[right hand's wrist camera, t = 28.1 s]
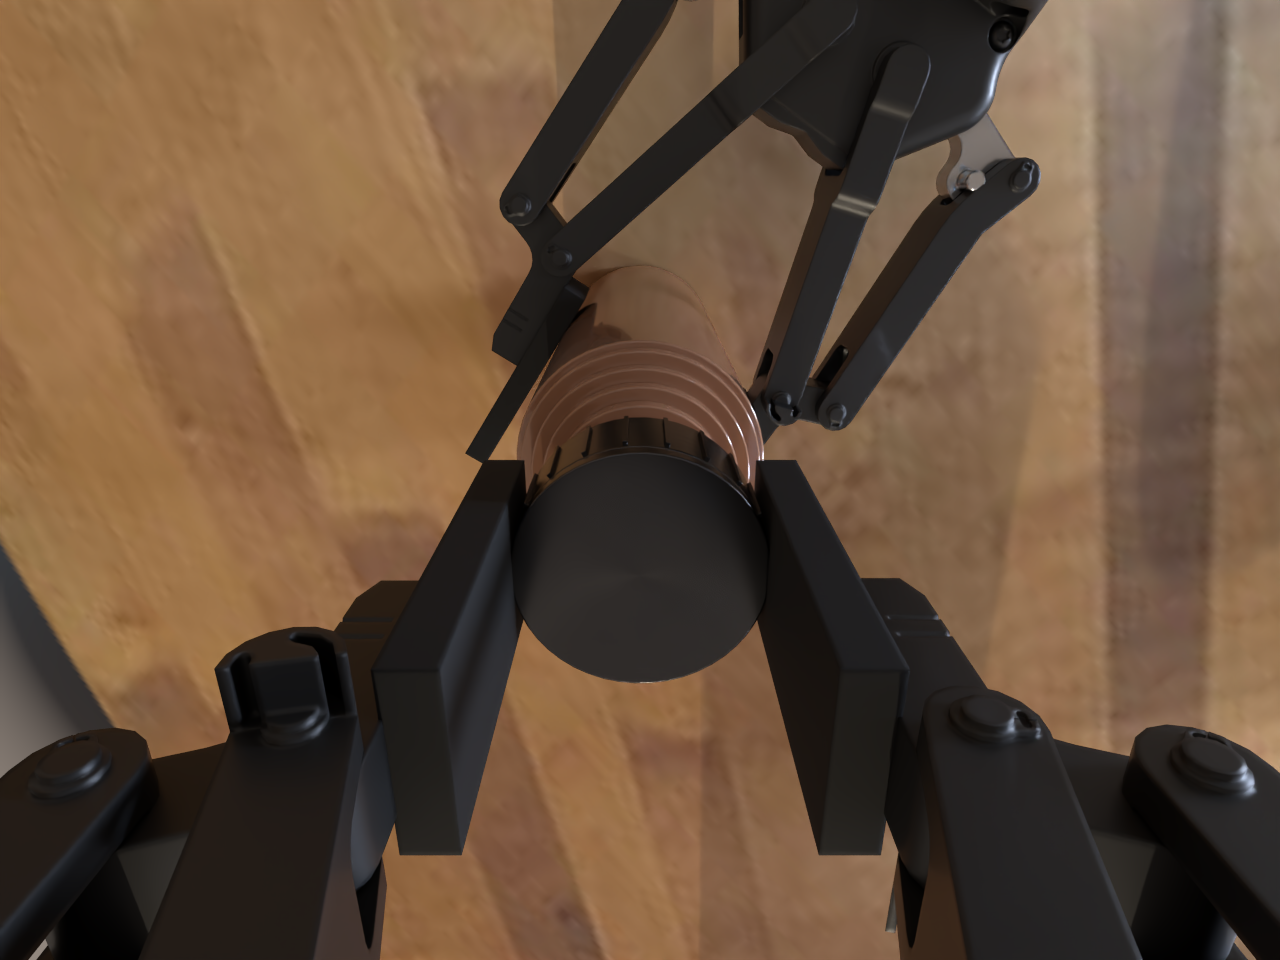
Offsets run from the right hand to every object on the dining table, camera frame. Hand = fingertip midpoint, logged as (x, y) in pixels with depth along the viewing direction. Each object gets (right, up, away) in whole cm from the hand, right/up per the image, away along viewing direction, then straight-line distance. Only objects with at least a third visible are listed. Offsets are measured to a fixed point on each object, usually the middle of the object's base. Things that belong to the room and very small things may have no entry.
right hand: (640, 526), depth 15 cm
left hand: (-3, +1, +13) cm, 13 cm away
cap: (0, -1, -2) cm, 2 cm away
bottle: (0, +7, +17) cm, 19 cm away
